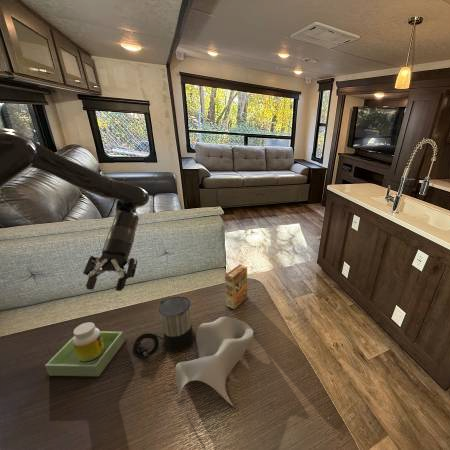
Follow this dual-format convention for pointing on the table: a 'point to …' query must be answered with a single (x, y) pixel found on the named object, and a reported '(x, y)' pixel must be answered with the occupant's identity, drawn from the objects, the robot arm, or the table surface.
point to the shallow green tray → (71, 366)
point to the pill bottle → (88, 343)
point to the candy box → (236, 286)
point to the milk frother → (170, 327)
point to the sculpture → (215, 354)
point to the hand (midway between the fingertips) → (104, 290)
